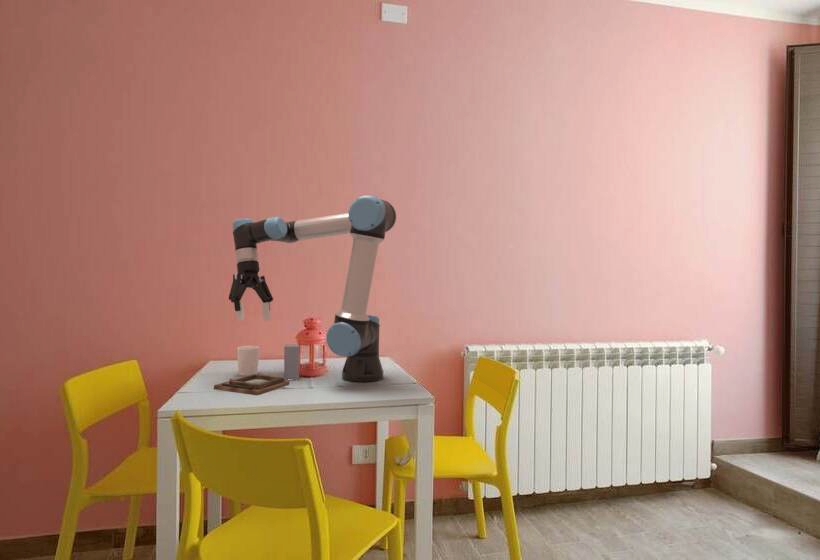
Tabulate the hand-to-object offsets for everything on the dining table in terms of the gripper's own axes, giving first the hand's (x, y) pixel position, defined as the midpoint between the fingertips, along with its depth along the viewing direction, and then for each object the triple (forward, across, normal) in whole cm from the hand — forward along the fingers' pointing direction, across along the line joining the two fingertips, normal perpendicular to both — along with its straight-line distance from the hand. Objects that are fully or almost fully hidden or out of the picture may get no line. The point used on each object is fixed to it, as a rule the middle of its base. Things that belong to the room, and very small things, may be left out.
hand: (254, 320), depth 178 cm
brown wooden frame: (+22, +6, +1) cm, 23 cm away
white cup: (+18, -9, -14) cm, 24 cm away
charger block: (+22, -10, +5) cm, 25 cm away
